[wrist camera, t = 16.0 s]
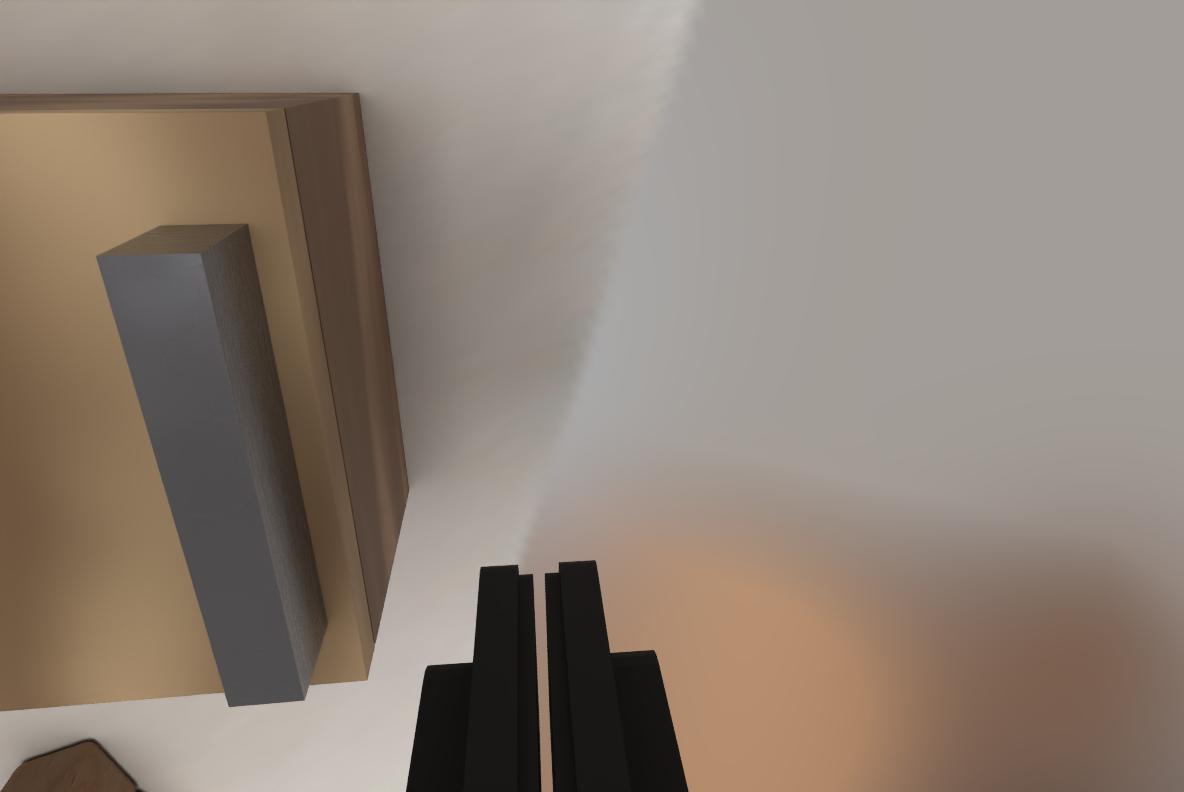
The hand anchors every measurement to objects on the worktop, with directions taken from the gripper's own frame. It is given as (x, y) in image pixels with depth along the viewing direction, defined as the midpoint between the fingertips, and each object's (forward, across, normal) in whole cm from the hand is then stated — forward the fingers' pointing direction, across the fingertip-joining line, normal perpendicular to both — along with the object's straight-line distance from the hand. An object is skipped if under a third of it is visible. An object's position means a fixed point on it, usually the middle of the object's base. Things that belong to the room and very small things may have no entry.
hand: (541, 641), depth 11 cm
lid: (+7, +12, 0) cm, 14 cm away
